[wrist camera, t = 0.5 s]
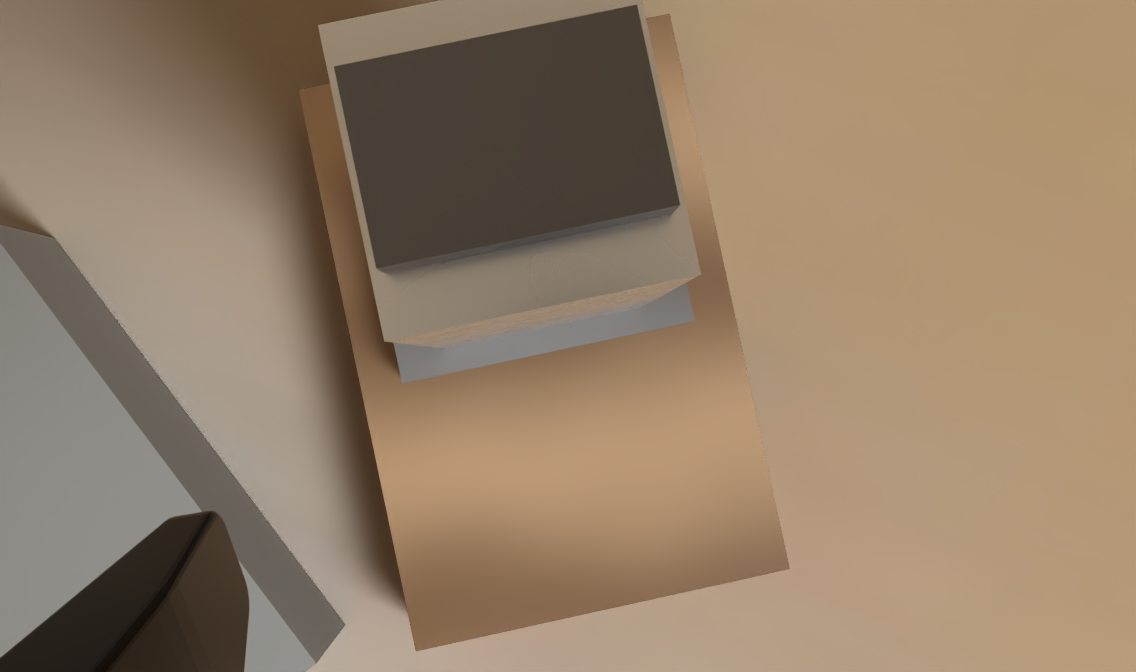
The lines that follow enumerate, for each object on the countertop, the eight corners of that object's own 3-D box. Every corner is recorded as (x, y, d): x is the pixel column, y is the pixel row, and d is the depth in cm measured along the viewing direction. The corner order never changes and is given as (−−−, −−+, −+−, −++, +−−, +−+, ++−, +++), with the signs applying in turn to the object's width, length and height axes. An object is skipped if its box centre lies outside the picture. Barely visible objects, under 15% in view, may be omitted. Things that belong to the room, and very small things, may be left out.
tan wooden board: (769, 551, 24) (801, 578, 21) (426, 626, 24) (409, 665, 21) (659, 42, 24) (675, -4, 21) (319, 112, 24) (286, 77, 21)
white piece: (641, 307, 21) (711, 268, 12) (446, 348, 21) (372, 340, 12) (599, 113, 21) (639, -66, 12) (405, 153, 21) (302, 2, 12)
